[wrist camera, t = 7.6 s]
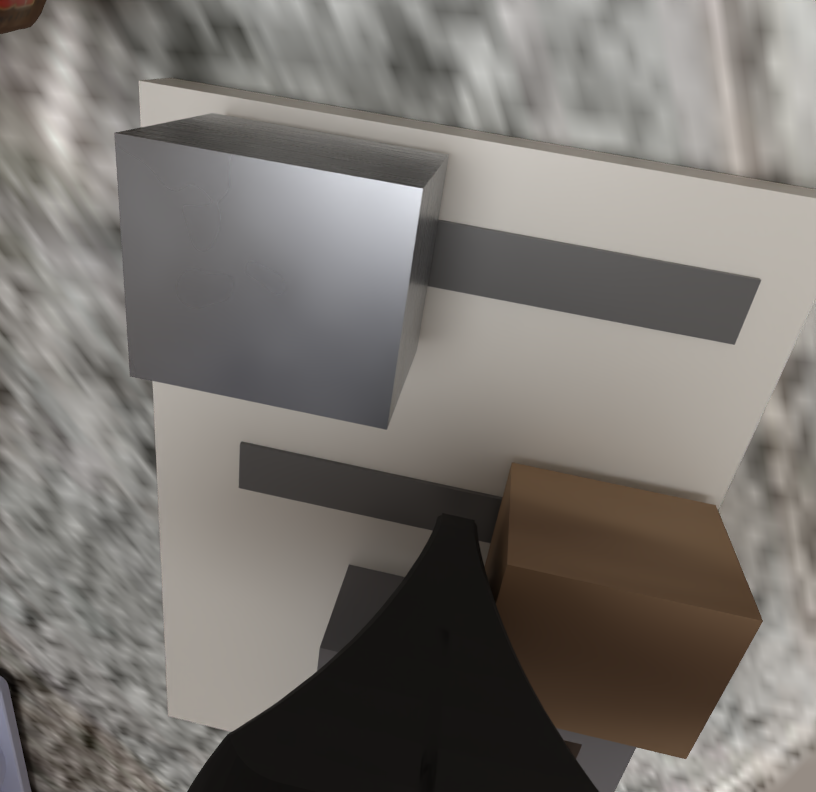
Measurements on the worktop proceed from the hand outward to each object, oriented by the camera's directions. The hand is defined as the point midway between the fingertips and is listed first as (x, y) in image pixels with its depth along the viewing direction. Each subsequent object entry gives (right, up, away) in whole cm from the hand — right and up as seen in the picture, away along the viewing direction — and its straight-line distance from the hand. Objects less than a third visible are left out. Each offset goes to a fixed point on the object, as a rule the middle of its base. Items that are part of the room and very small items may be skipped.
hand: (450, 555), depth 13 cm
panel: (-1, 0, +3) cm, 3 cm away
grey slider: (-2, +6, -1) cm, 7 cm away
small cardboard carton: (+3, 0, +1) cm, 3 cm away
